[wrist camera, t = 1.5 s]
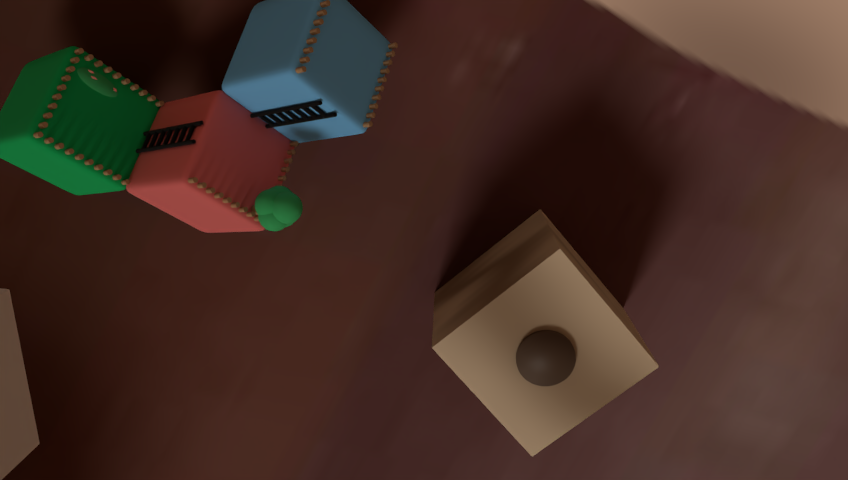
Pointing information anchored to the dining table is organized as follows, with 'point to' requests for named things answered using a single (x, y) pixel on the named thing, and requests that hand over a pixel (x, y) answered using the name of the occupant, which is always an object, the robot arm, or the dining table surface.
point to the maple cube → (537, 335)
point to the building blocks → (204, 118)
